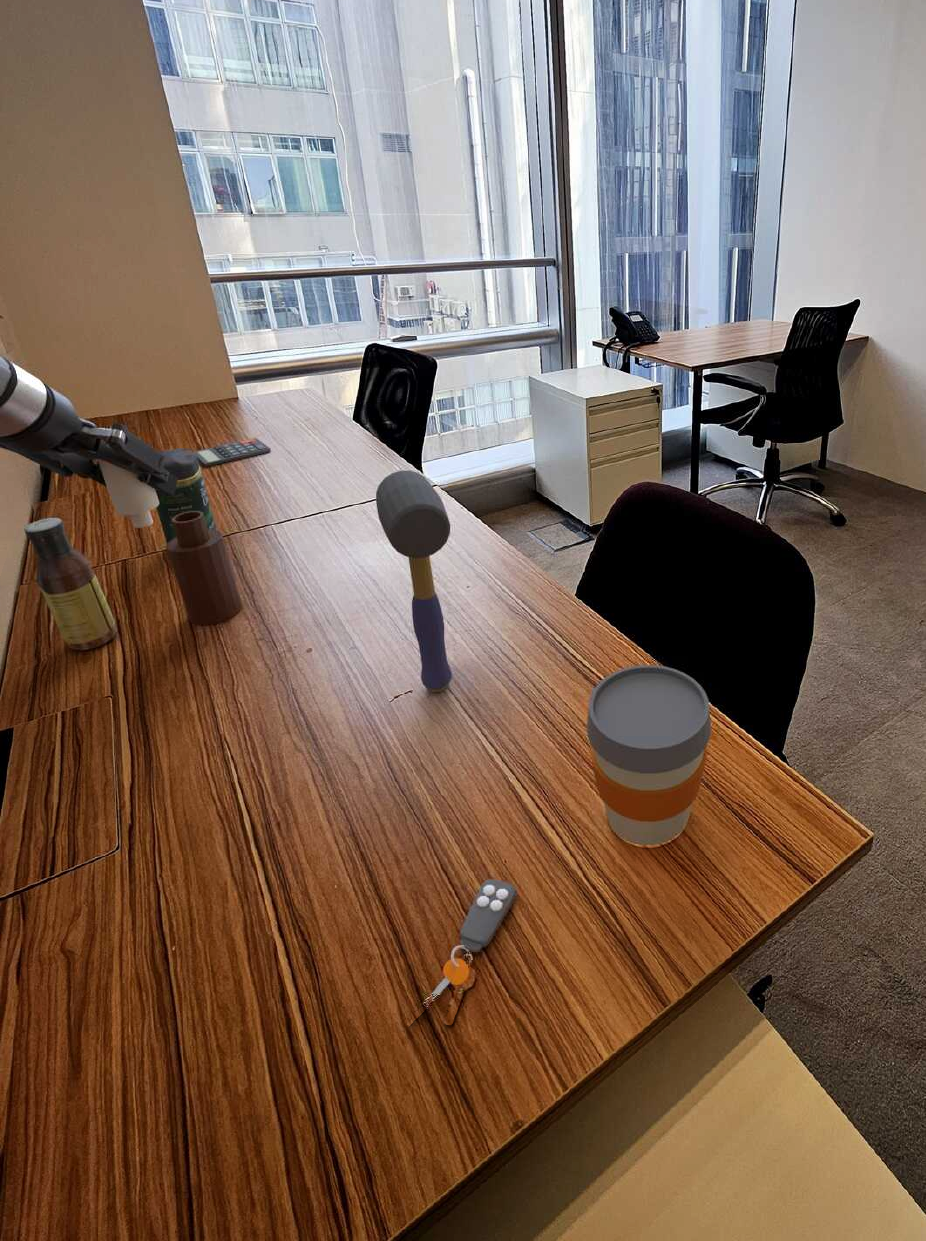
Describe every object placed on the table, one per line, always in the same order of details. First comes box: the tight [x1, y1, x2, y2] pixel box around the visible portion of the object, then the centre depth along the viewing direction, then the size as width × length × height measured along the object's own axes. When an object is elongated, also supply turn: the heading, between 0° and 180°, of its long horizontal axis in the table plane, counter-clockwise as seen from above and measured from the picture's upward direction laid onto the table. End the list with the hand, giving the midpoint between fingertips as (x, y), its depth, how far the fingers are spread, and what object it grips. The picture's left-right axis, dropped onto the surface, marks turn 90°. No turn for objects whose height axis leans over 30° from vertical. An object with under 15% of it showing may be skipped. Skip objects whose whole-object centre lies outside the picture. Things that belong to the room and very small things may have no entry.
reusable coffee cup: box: [586, 664, 712, 845], centre depth 70 cm, size 13×13×15 cm
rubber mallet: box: [375, 470, 453, 693], centre depth 86 cm, size 12×8×30 cm, turn 27°
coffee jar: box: [155, 448, 219, 544], centre depth 124 cm, size 10×8×19 cm
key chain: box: [422, 878, 517, 1008], centre depth 59 cm, size 13×4×2 cm, turn 163°
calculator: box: [192, 437, 272, 468], centre depth 172 cm, size 12×1×15 cm
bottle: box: [165, 511, 243, 626], centre depth 104 cm, size 7×7×17 cm
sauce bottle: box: [24, 517, 118, 651], centre depth 97 cm, size 7×6×20 cm
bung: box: [96, 459, 159, 529], centre depth 89 cm, size 5×5×10 cm
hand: (152, 487), depth 93 cm, fingers closed on bung, 5 cm apart
